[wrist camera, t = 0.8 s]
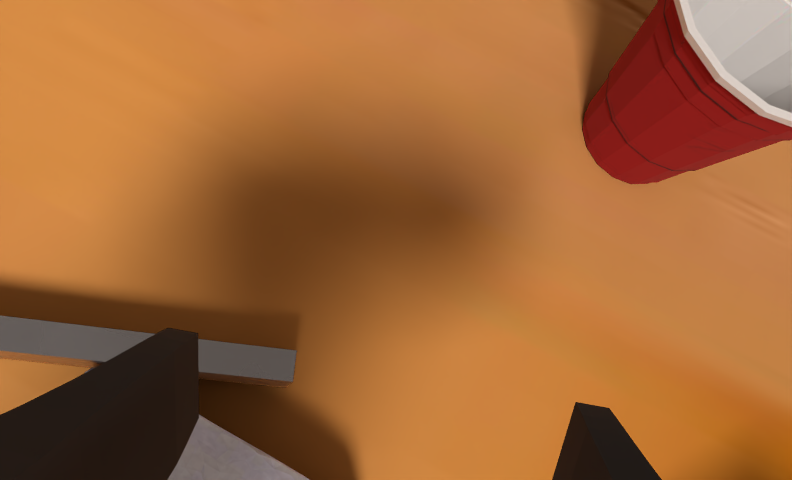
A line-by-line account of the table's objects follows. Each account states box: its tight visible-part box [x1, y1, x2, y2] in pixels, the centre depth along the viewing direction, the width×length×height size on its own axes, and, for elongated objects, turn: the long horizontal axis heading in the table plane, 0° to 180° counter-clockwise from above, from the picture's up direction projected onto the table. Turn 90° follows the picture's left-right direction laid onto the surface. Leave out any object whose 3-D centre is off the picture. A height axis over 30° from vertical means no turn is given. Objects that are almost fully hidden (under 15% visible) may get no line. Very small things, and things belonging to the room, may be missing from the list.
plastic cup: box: [582, 0, 792, 184], centre depth 30 cm, size 11×11×12 cm
